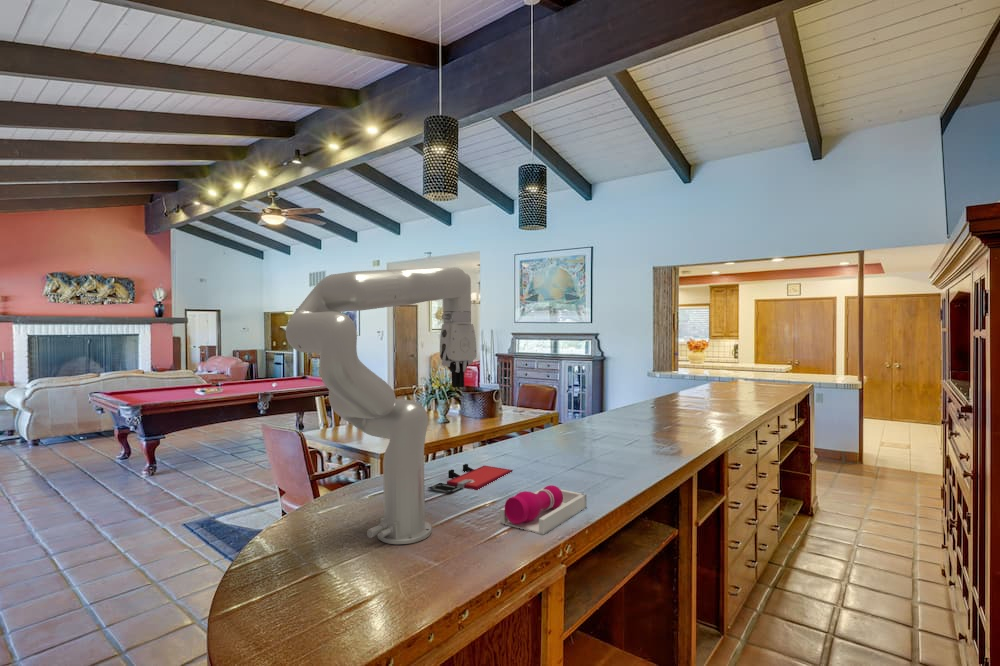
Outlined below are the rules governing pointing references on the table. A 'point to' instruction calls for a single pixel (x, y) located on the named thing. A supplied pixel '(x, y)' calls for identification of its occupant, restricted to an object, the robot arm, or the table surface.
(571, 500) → the grey tray
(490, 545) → the table surface
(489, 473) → the red board with handle
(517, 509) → the pepper mill
